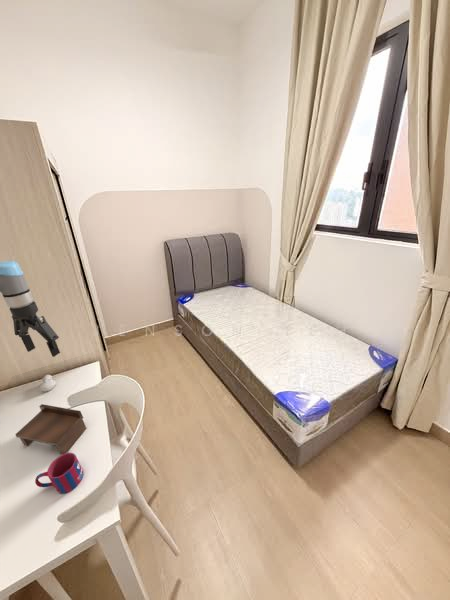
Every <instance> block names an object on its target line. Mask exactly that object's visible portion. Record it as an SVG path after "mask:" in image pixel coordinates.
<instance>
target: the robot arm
mask: <svg viewBox="0 0 450 600" xmlns="http://www.w3.org/2000/svg"><path fill="white" fill-rule="evenodd" d="M0 293H1V294H2V297H3V299H4V301H5V303H6V305H7V307H8V308H9V312H10V313H11V319H12V321H13V330H14V331H13V332H14V335H15V336H18V337H19V338H20V339H21V341H22V343H23V345H24V347H25V349H26V351H27V353H28V352H29V353H30V352H31V351H33V350H35V349H36V346H35V343H34V341H33V339H32V337H31V334H30V332H29V330H30V328H31V329H32V330H33V331H36V332H37V333H38V334H39V335H40V336H41V337H42V338H43V339H44V340H45V341H46V342H45V343H46V345H47V347H48V350H49V352H50V355H51V356H52V357H53V358H55V357H56V356H58V355H59V354H60V353H61V350H60V349H59V347H58V344H57V341H56V340H58V339H59V338H60V337H59V335H58V334H57V333H56V332H55V330H54V329H53V328H52V327H51V325H50V324H49V323H48V321H47V319H46V318H45V316H44V315H41V316H38V315H37V313H38V312H39V308H38V306H37V303H36V301H35V298H34V297H33V296H34V295H33V294H32V291H31V290H30V287H29V285H28V283H27V279H26V277H25V275H24V272H23V271H22V268H21V266H20V265H19V263H18V262H17V261H16V260H15V261H14V260H5V261H0Z"/></svg>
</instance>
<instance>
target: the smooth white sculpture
mask: <svg viewBox="0 0 450 600" xmlns="http://www.w3.org/2000/svg"><path fill="white" fill-rule="evenodd" d="M53 378H54V377H53V376H52V375H51V374H46V375H44V376H43V377H42V383H41V384H40V386H39V389H40V391H42V392H49V391H51V390H53V389H54V388H55V386H56V384H57V382H56V381H55V379H53Z"/></svg>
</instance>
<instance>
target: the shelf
mask: <svg viewBox="0 0 450 600" xmlns="http://www.w3.org/2000/svg"><path fill="white" fill-rule="evenodd" d="M38 407H39V409H40V411H39V412H38V413H37V414H36V415H35V416H34V417H32V418H31V419H30V420H29V422H27V423H26V424H25V425H24V426H22V427H21V429H20V430H18V431H17V432H16V433H14V435H15V436H16V438H19V440H20V441H21V443H22V445H23V447H29V446H30V445H31V444H32V443H34V442H37V443H42V444H46V445H51V446H55V447H56V448H57V450H58V452H59V454H60V455H63V454H65V453H69V451H70V449H72V447H73V446H74V445H75V443H76V442H77V441H78V440H79V438H81V436H82V435H83V434H84V432H85V431H86V430H87V429H88V428H87V427H86V423H85V421H84V420H83V419H84V416H83V414H82V412H81V410H78V409H71V408H67V407H61V406H55V405H49V404H43V403H41V404H40V405H39V406H38Z"/></svg>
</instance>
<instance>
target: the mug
mask: <svg viewBox="0 0 450 600" xmlns="http://www.w3.org/2000/svg"><path fill="white" fill-rule="evenodd" d="M42 477H43V478H44V477H48V479H49V480H50V482H41V481H39V479H40V478H42ZM83 477H84V469H83V467H82V465H81V463H80V461H79V459H78V457H77V455H76V454H75V453H74V452H67V453H65V454H63V455H62V454H60V455H59V456H57V457H56V458H55V459H54V460H53V461H52V462H51V463H50V464H49V466H48V468H47V471H44V472H42V473H41V472H40V473H39V474H37V475H36V477H35V480H34V483H35V485H36V486H37V487H39V488H50V487H54V489H55V491H56V492H57V493H59V494H67V493H69V492H72V491H73V490H74V489H76V488H77V487H78V485H80V483H81V482H82V480H83Z"/></svg>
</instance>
